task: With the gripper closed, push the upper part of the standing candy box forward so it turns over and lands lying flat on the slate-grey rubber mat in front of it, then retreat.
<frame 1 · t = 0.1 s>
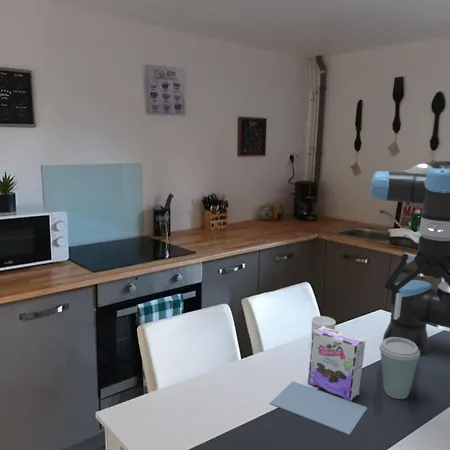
hand: (426, 324, 108), 28 cm above the table, fingers open, 13 cm apart
white cup: (321, 348, 157), on the table
disposable coffee cup: (394, 393, 131), on the table
mat: (318, 406, 123), on the table
candy box: (332, 389, 131), on the table, touching mat
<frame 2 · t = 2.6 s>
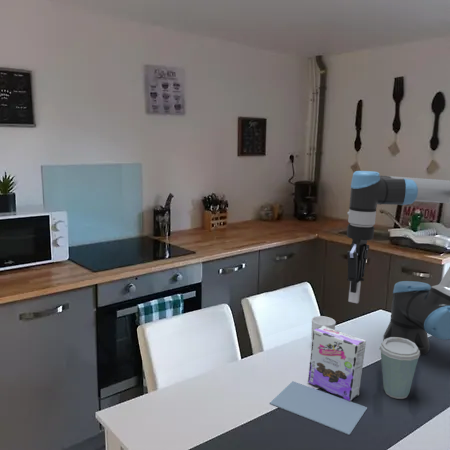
hand: (353, 301, 137), 23 cm above the table, fingers closed
nothing on the table moved.
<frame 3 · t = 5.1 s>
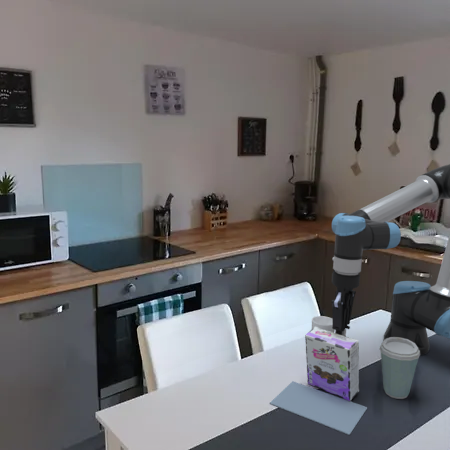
hand: (339, 350, 132), 11 cm above the table, fingers closed
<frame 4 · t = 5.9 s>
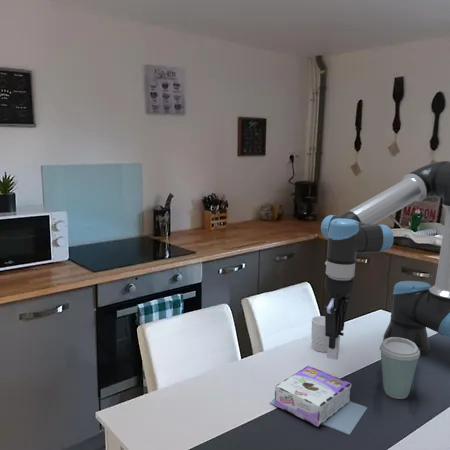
hand: (332, 357, 128), 11 cm above the table, fingers closed
candy box: (329, 382, 129), point 3 cm above the table, touching mat
everything else where it was.
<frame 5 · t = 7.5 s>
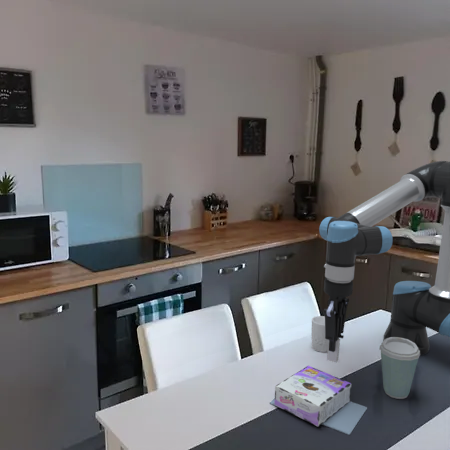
hand: (332, 360, 127), 10 cm above the table, fingers closed
nothing on the table moved.
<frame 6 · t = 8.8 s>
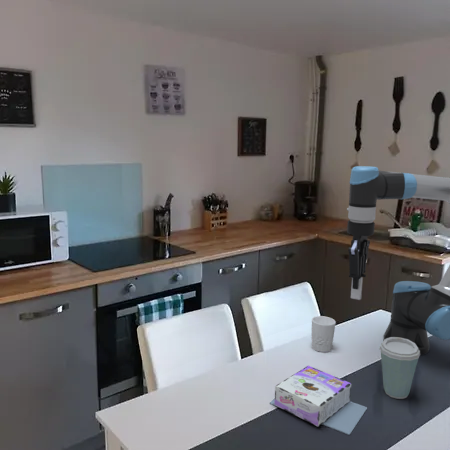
hand: (355, 298, 137), 24 cm above the table, fingers closed
nothing on the table moved.
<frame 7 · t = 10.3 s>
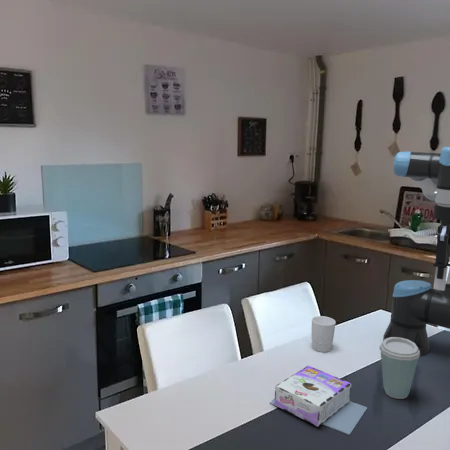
hand: (439, 289, 127), 30 cm above the table, fingers closed
nothing on the table moved.
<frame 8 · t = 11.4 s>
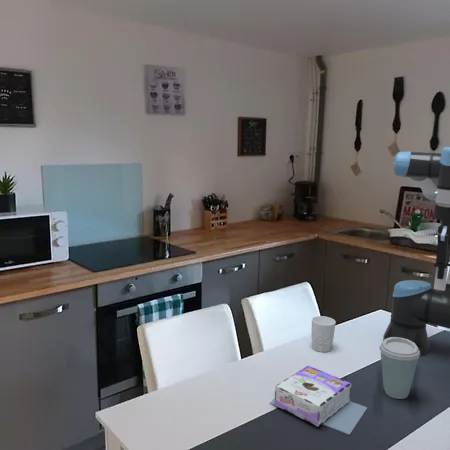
hand: (439, 289, 127), 30 cm above the table, fingers closed
nothing on the table moved.
at the end: candy box tilted 89°; candy box inside the target area (10.4 cm from its centre), point 3.1 cm above the table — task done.
